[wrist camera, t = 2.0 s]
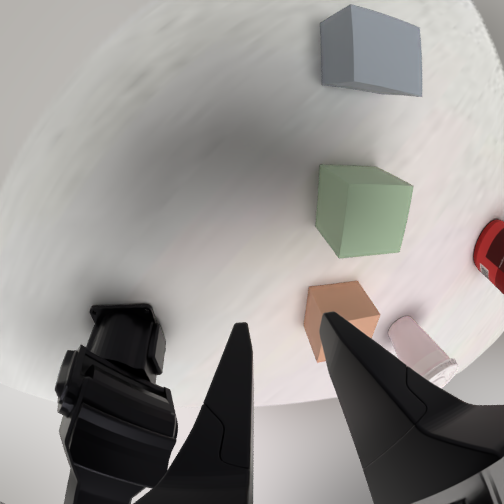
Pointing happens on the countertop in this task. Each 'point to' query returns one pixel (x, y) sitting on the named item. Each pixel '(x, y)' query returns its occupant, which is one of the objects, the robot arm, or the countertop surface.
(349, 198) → the green block
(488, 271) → the canned food
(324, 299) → the terracotta block
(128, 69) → the countertop surface
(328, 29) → the slate block
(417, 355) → the smoothie
